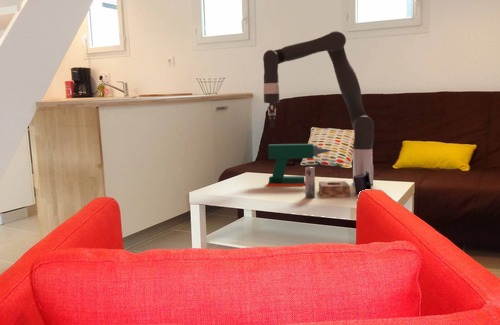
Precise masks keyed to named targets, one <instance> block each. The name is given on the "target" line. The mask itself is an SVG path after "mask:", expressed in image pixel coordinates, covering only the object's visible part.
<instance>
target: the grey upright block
mask: <svg viewBox="0 0 500 325" xmlns="http://www.w3.org/2000/svg"><path fill="white" fill-rule="evenodd" d="M315 168H316V167H315V166H306V167H305V168H304V169H305V170H304V175H305V176H304V181H305V186H304V187H305V188H304V189H305V190H304V192H305V198H306V199H315V198H316V197H315V196H316V191H315V190H316V188H315V187H316V186H315V185H316V182H315V181H316V174H315V172H316V169H315Z"/></svg>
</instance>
